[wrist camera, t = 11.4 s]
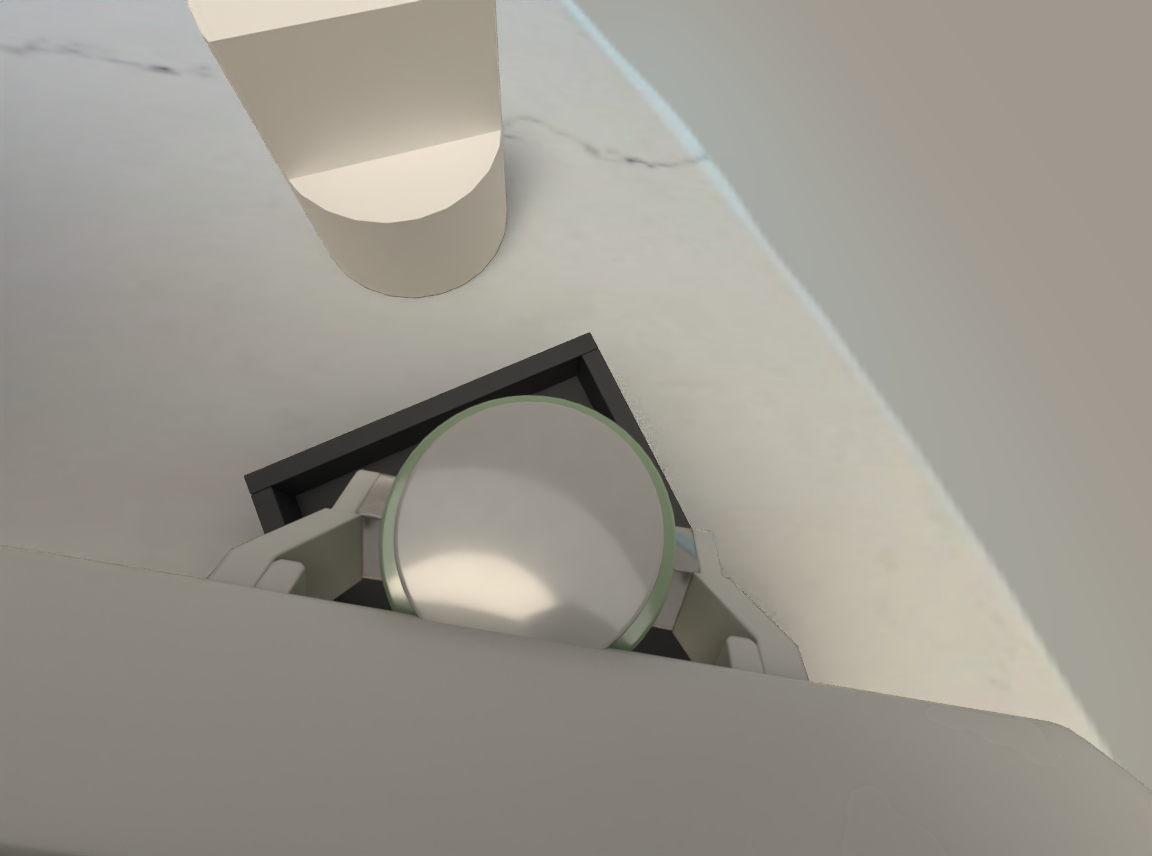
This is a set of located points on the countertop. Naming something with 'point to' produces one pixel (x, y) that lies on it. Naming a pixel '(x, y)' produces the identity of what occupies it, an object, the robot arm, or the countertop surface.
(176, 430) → the countertop surface
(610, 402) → the tray
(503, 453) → the salt shaker
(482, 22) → the base with upright slab
